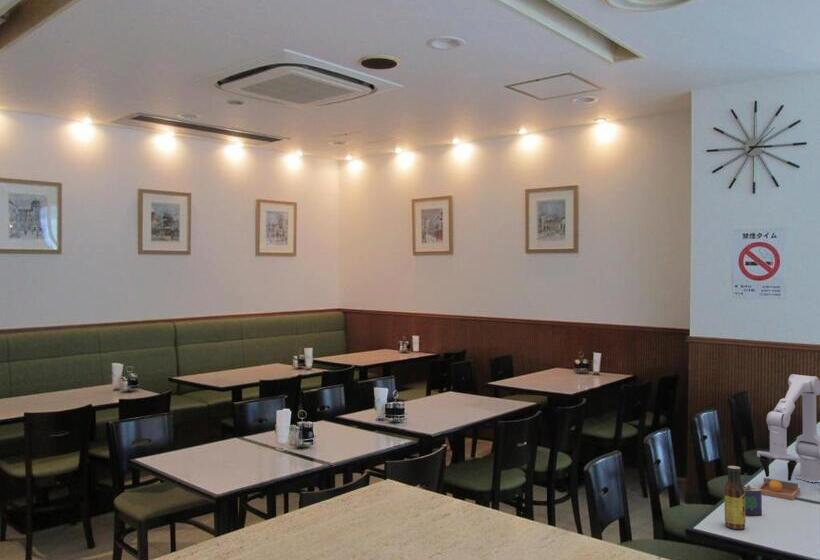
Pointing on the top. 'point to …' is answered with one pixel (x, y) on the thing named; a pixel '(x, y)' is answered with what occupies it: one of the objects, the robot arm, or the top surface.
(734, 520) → the sauce bottle
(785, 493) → the tray
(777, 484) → the ball
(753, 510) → the flask
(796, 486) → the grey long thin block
